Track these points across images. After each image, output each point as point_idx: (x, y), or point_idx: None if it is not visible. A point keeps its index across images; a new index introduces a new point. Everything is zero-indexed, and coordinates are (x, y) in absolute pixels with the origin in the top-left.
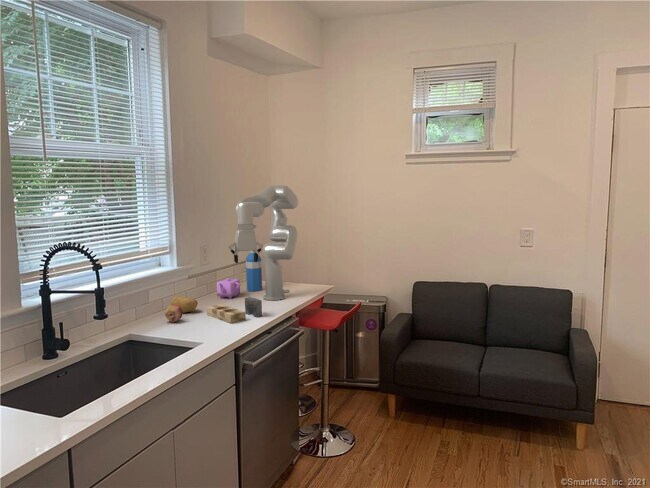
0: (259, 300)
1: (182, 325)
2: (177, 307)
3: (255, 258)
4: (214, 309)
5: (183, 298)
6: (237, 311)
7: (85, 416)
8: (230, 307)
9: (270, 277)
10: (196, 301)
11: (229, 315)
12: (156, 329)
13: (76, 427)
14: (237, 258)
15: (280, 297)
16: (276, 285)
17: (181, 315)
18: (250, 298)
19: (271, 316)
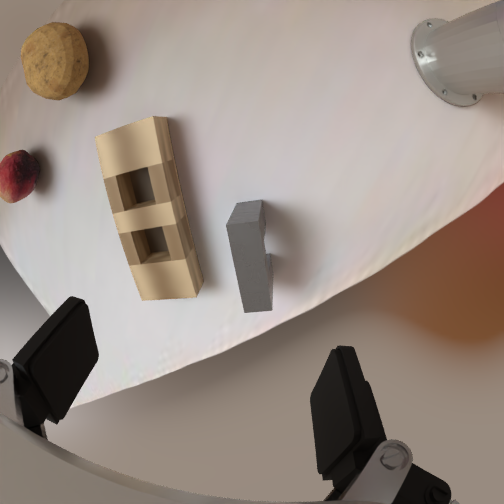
0: (262, 309)
1: (45, 219)
2: (8, 196)
3: (316, 425)
4: (108, 194)
5: (31, 76)
6: (173, 275)
7: None
8: (168, 200)
9: (491, 61)
10: (69, 85)
11: (141, 293)
12: (9, 218)
13: None
14: (72, 393)
15: (462, 97)
16: (483, 87)
17: (32, 187)
18: (245, 252)
19: (299, 292)
